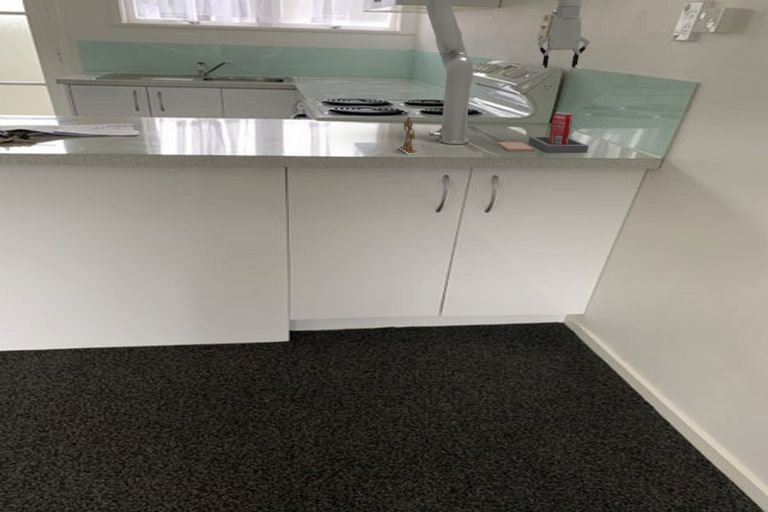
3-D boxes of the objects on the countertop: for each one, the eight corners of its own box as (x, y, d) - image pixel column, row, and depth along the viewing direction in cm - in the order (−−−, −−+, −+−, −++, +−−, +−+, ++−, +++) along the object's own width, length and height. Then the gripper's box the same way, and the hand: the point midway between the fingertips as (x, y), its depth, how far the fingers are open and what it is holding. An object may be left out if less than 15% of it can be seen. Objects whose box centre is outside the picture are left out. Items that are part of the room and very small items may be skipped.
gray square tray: (546, 152, 156) (547, 145, 154) (528, 142, 170) (529, 136, 169) (586, 152, 157) (588, 145, 156) (565, 142, 172) (567, 136, 170)
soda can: (567, 150, 160) (576, 114, 154) (548, 148, 161) (555, 113, 155) (564, 146, 166) (572, 111, 160) (545, 144, 167) (552, 110, 161)
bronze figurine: (418, 154, 148) (420, 119, 142) (408, 155, 147) (410, 119, 141) (407, 148, 155) (409, 115, 150) (398, 149, 154) (399, 115, 148)
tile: (507, 150, 156) (508, 148, 156) (497, 144, 166) (497, 142, 165) (533, 150, 157) (533, 148, 157) (521, 144, 167) (521, 142, 167)
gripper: (543, 13, 143) (535, 68, 151) (597, 12, 140) (586, 67, 148) (540, 14, 150) (533, 67, 158) (591, 13, 147) (582, 66, 155)
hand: (559, 67), depth 153 cm, fingers open, 9 cm apart
